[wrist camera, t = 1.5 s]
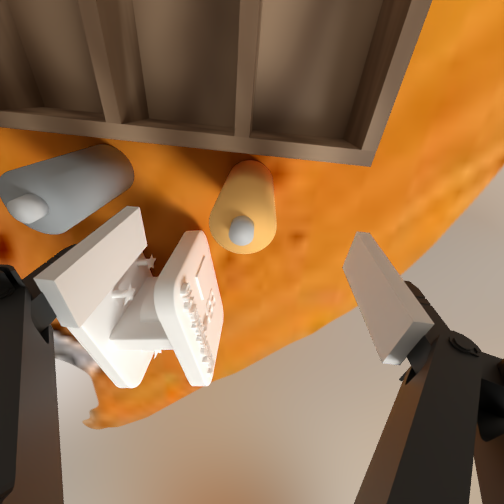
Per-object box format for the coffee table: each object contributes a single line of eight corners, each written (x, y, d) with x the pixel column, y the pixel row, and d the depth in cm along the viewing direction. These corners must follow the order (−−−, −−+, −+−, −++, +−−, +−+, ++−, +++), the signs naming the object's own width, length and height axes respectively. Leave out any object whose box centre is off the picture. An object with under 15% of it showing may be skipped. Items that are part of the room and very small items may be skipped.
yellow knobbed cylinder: (226, 203, 24) (206, 260, 16) (228, 157, 22) (204, 197, 13) (269, 207, 24) (271, 266, 16) (276, 162, 22) (282, 205, 13)
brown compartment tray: (49, 118, 21) (-15, 125, 16) (-33, -111, 14) (-186, -216, 9) (347, 150, 21) (370, 166, 16) (410, -59, 14) (482, -136, 9)
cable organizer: (121, 226, 27) (40, 299, 17) (209, 221, 26) (176, 295, 16) (161, 313, 35) (121, 395, 26) (229, 312, 34) (214, 396, 25)
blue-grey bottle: (94, 189, 24) (3, 239, 16) (80, 141, 22) (-38, 171, 13) (138, 193, 24) (70, 246, 16) (128, 146, 22) (42, 179, 13)
